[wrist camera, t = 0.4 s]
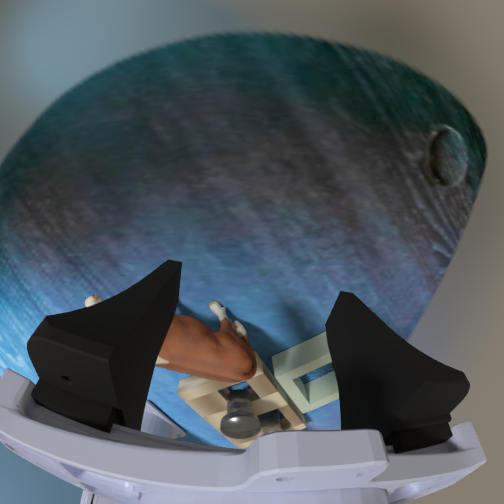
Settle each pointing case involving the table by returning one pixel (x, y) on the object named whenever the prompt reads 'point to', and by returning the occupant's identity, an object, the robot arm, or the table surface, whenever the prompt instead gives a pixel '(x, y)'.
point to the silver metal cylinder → (269, 422)
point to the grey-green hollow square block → (300, 363)
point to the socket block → (262, 392)
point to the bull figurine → (205, 347)
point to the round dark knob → (240, 416)
